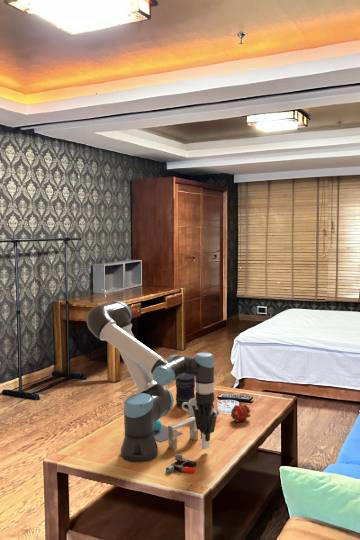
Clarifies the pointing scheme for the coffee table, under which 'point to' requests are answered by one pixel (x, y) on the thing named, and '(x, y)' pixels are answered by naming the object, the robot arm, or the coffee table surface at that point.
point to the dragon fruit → (240, 412)
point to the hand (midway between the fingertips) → (205, 447)
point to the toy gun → (182, 465)
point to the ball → (157, 425)
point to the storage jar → (184, 390)
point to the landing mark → (162, 434)
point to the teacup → (190, 406)
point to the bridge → (173, 428)
